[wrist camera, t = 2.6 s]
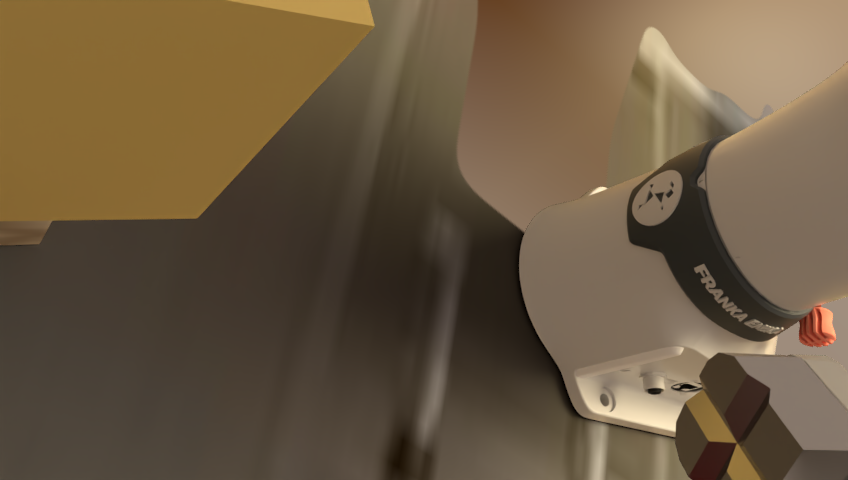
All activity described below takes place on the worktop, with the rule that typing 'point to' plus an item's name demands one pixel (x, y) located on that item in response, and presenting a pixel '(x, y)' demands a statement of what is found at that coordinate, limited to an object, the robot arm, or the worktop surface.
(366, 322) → the worktop surface
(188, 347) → the worktop surface
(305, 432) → the worktop surface
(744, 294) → the robot arm
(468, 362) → the worktop surface
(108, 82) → the ochre bar
